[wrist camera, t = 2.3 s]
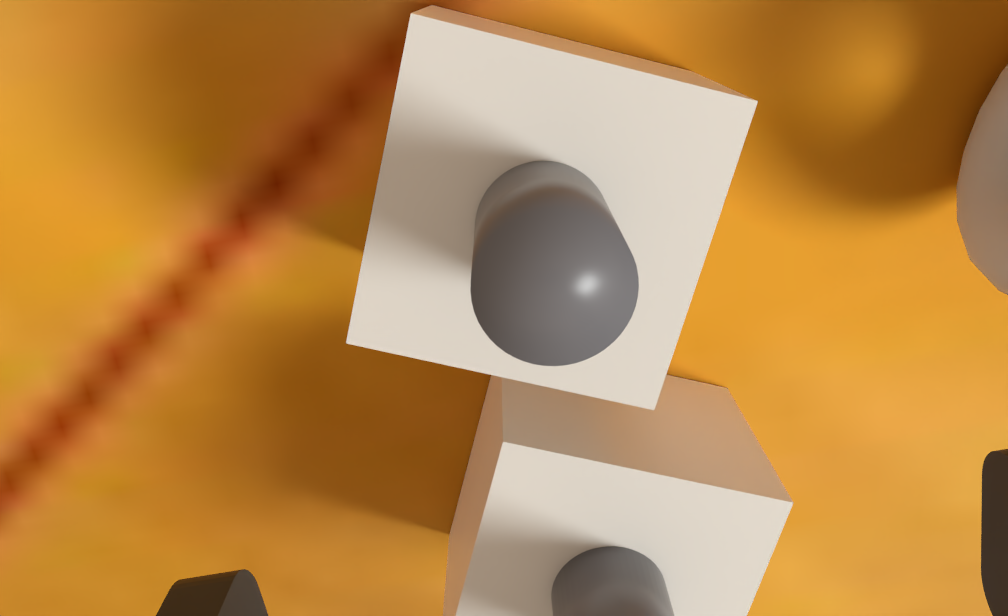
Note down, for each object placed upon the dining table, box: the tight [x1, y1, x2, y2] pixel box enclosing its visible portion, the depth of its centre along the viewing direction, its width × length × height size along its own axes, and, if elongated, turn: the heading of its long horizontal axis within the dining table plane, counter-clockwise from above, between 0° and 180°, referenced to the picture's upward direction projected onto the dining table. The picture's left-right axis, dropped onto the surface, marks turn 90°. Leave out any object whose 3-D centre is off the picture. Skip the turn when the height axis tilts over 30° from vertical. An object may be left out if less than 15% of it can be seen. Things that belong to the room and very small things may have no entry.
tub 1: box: [346, 5, 758, 410], centre depth 25 cm, size 9×9×13 cm
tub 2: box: [443, 375, 793, 616], centre depth 29 cm, size 9×9×13 cm
